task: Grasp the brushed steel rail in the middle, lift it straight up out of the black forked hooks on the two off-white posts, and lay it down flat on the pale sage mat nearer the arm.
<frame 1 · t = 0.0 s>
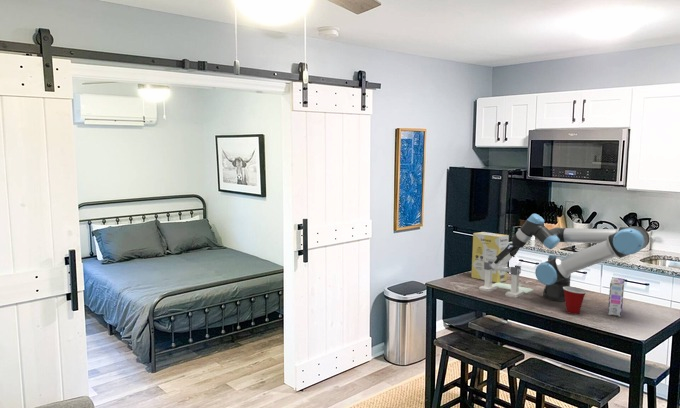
hand: (498, 265, 282), 15 cm above the table, tool tilted 35°, fingers open, 13 cm apart
candy box: (615, 312, 250), on the table
pasta box: (488, 279, 311), on the table, touching mat
rail: (501, 271, 282), point 12 cm above the table, touching rack
mat: (511, 288, 292), on the table
plastic cup: (573, 312, 249), on the table
rack: (500, 291, 284), on the table
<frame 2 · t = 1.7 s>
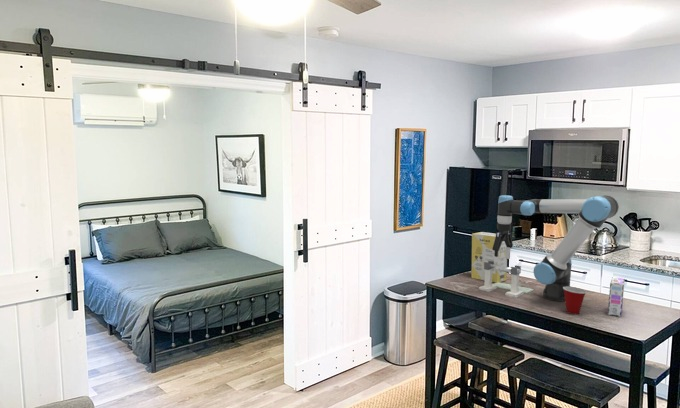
hand: (501, 260, 282), 18 cm above the table, tool pointing down, fingers open, 13 cm apart
rail: (501, 271, 282), point 12 cm above the table, tilted 8°, touching rack
everything else where it was.
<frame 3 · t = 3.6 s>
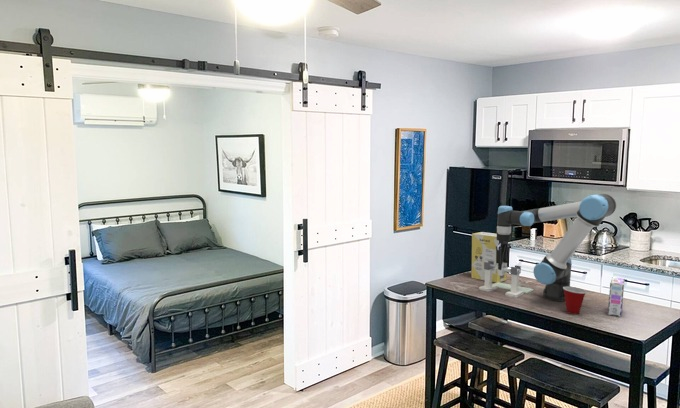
hand: (501, 274, 283), 10 cm above the table, tool pointing down, fingers closed on rail, 3 cm apart
rail: (501, 271, 282), point 12 cm above the table, tilted 6°, touching gripper, rack
everything else where it was.
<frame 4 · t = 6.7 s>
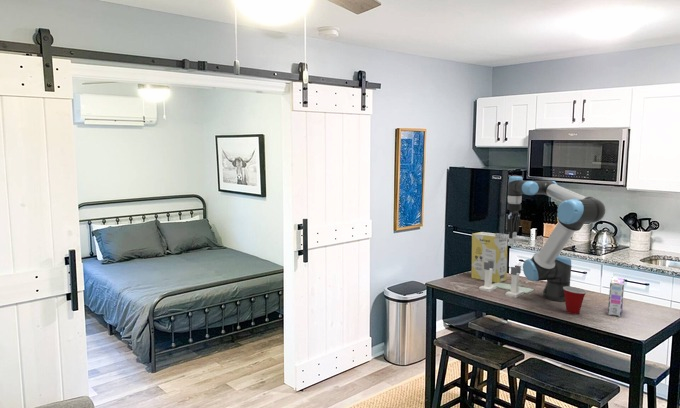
hand: (512, 243, 289), 26 cm above the table, tool pointing down, fingers closed on rail, 3 cm apart
rail: (512, 240, 289), point 28 cm above the table, tilted 6°, touching gripper
everything else where it was.
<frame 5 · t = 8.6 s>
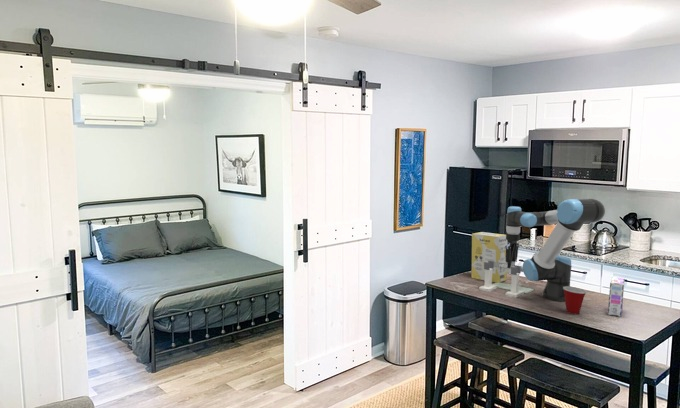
hand: (510, 272, 292), 9 cm above the table, tool pointing down, fingers closed on rail, 3 cm apart
rail: (510, 269, 292), point 11 cm above the table, tilted 6°, touching gripper
everything else where it was.
when the fingers open (2 cm above the table, at t = 10.1 s): rail drops 3 cm, resting on mat.
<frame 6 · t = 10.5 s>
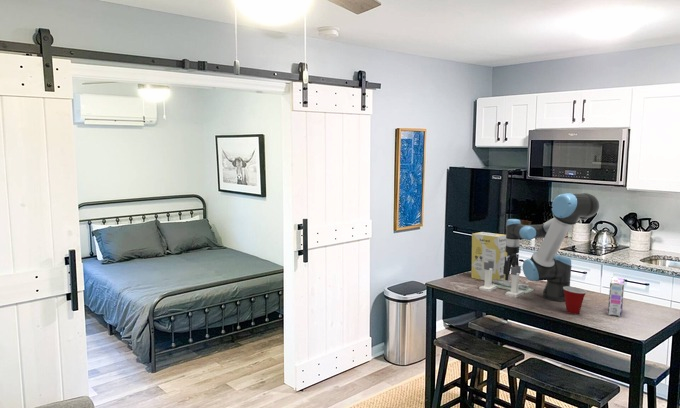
hand: (510, 284, 292), 2 cm above the table, tool pointing down, fingers open, 8 cm apart
rail: (510, 286, 292), point 1 cm above the table, tilted 8°, touching mat
everything else where it was.
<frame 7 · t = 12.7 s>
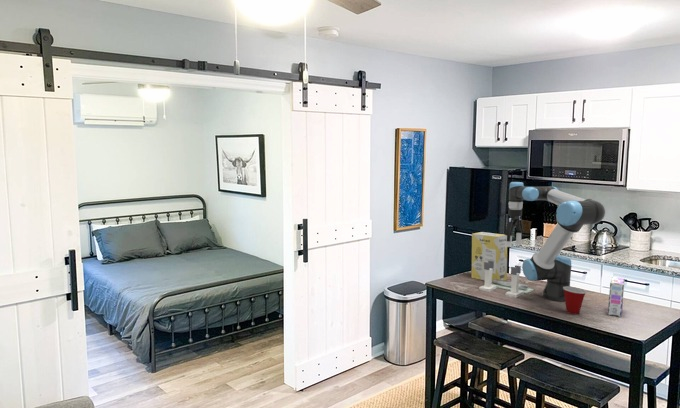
hand: (513, 245, 290), 25 cm above the table, tool pointing down, fingers open, 13 cm apart
rail: (510, 286, 292), point 1 cm above the table, tilted 26°, touching mat
everything else where it was.
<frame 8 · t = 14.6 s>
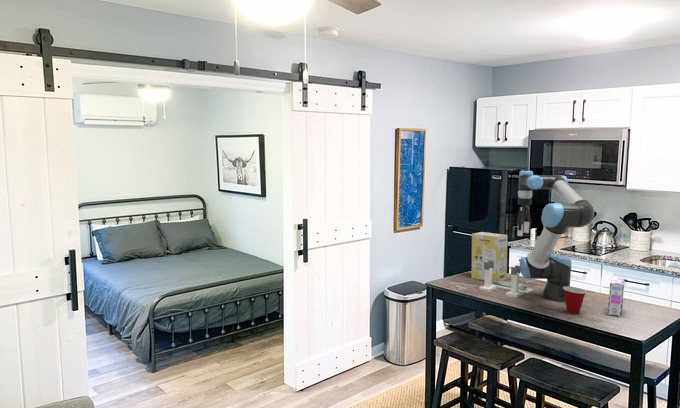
hand: (523, 234, 290), 32 cm above the table, tool pointing down, fingers open, 13 cm apart
nothing on the table moved.
at the end: rail inside the target area (0.1 cm from its centre), point 0.7 cm above the table; rail touching mat; the gripper is holding nothing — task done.
